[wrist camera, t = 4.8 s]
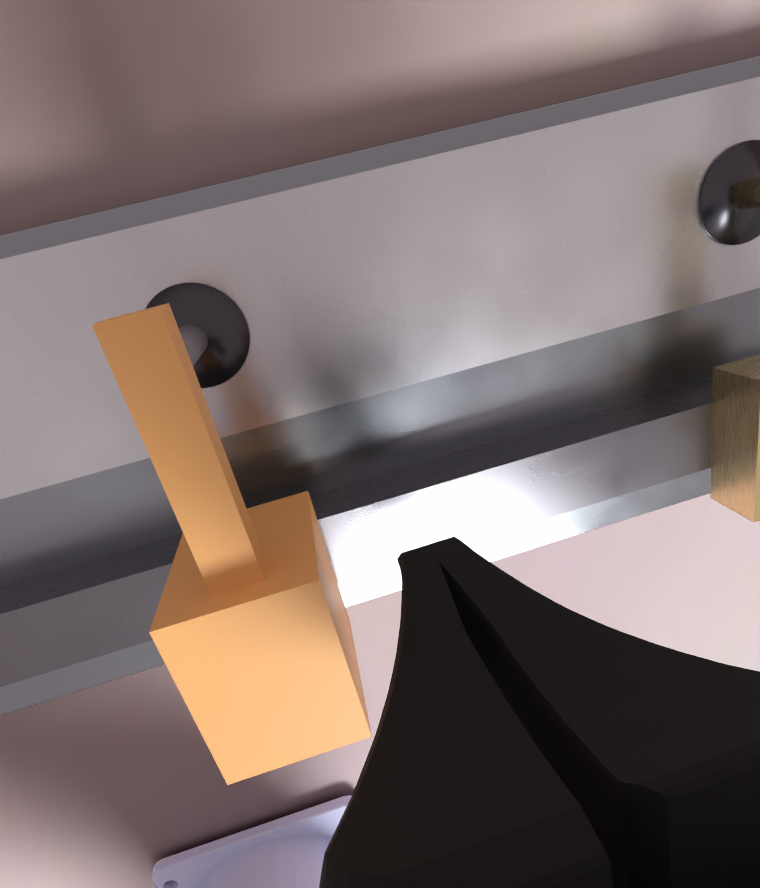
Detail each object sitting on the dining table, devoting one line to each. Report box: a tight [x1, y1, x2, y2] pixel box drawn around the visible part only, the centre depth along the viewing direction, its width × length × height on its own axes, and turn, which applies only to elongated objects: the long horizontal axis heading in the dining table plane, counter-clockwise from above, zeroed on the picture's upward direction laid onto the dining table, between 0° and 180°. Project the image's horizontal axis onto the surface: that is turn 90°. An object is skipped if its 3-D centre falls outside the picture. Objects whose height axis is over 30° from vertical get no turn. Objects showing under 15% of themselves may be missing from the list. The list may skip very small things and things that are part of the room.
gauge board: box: [0, 56, 760, 715], centre depth 13 cm, size 12×29×4 cm, turn 103°
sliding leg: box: [92, 303, 372, 785], centre depth 11 cm, size 9×3×4 cm, turn 13°
